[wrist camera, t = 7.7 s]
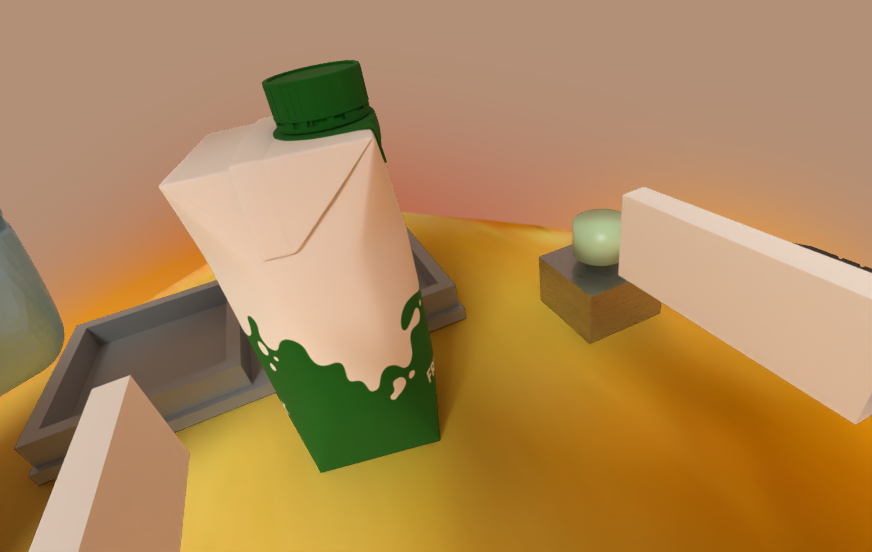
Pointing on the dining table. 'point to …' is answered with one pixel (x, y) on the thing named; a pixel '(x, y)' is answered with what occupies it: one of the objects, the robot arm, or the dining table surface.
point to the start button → (597, 237)
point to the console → (592, 295)
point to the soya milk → (317, 264)
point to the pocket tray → (177, 362)
